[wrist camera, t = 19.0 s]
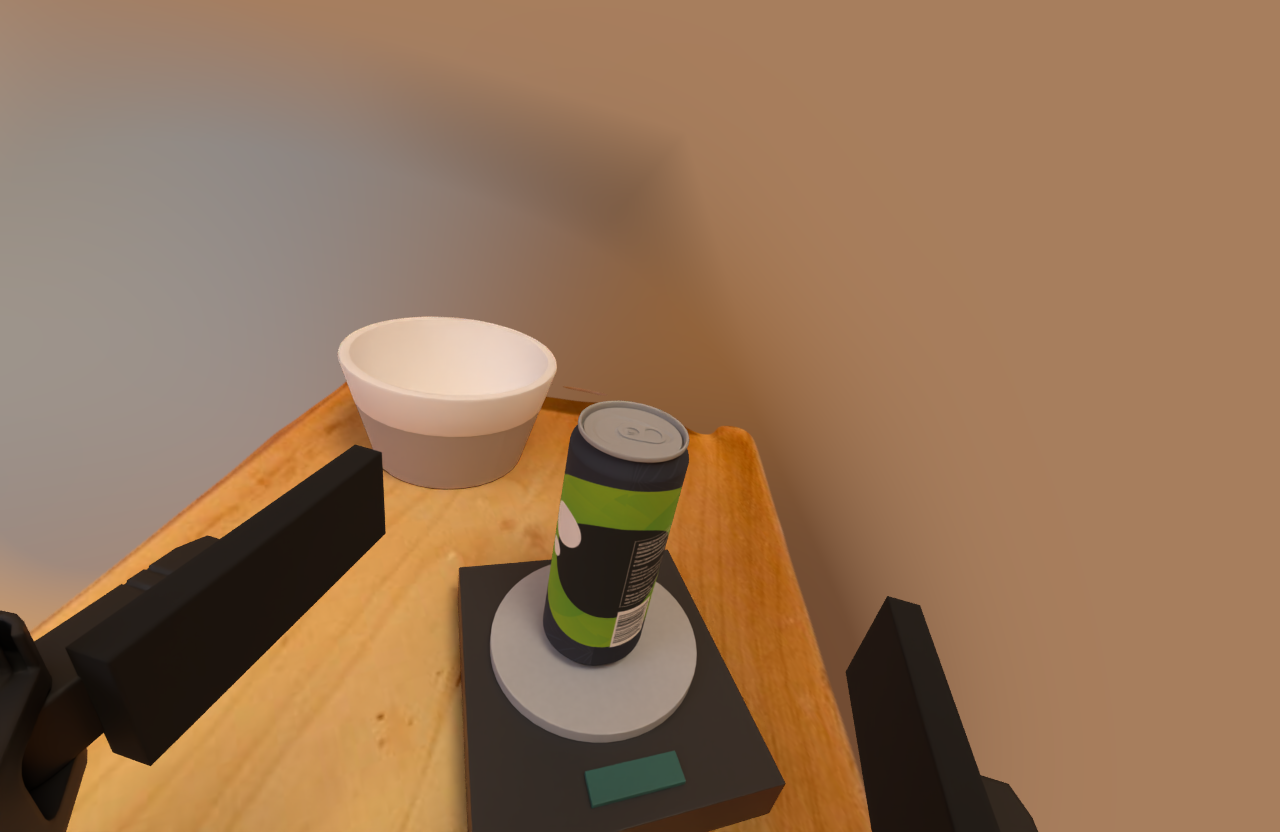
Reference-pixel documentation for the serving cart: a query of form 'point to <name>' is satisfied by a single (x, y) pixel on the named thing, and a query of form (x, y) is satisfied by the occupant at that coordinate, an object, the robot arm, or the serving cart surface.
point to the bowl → (446, 396)
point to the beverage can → (612, 528)
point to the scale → (601, 719)
